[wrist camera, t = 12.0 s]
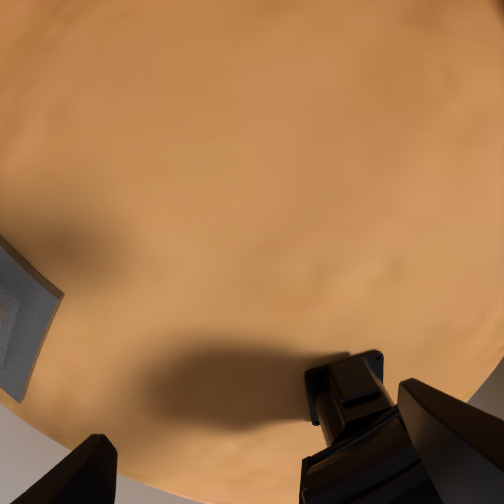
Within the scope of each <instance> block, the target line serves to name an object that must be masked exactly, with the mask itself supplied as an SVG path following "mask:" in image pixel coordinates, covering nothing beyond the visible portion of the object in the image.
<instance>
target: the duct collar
mask: <svg viewBox="0 0 504 504" xmlns="http://www.w3.org/2000/svg"><path fill="white" fill-rule="evenodd" d="M63 296H64V294H63V293H62V292H61V291H60V290H59V289H57V288H56V287H55V286H54V285H53V284H52V283H50V282H49V281H48V280H47V279H46V278H45V277H44V276H42V275H41V274H40V273H39V272H38V271H37V270H36V269H35V268H34V267H32V266H31V265H30V264H29V263H28V262H27V261H26V260H25V259H24V258H23V257H22V256H21V255H20V254H19V253H18V252H17V251H16V250H15V249H13V248H12V247H11V246H10V245H9V244H8V243H7V242H6V241H5V240H4V239H3V237H2V236H1V235H0V387H1V388H2V389H3V390H4V391H5V392H6V393H8V394H9V395H10V396H11V397H12V398H14V399H15V400H16V401H17V402H18V403H21V402H22V401H23V399H24V397H25V394H26V391H27V388H28V385H29V381H30V379H31V376H32V373H33V370H34V367H35V364H36V361H37V359H38V356H39V353H40V351H41V348H42V346H43V343H44V340H45V338H46V335H47V333H48V331H49V328H50V326H51V323H52V321H53V319H54V316H55V314H56V312H57V310H58V307H59V305H60V303H61V301H62V299H63Z"/></svg>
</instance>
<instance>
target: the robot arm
mask: <svg viewBox="0 0 504 504" xmlns="http://www.w3.org/2000/svg"><path fill="white" fill-rule="evenodd" d="M377 356H378V357H377ZM376 357H377V358H376ZM383 362H384V356H383V354H382V353H381V351H374V352H371V353H368V354H365V355H362V356H358V357H355V358H352V359H348V360H345V361H341V362H338V363H334V364H331V365H327V366H323V367H319V368H315V369H312V370H308V371H306V372H305V373H304V381H305V386H306V392H307V398H308V404H309V410H310V416H311V421H312V424H313V425H314V426H319V425H321V428H322V431H323V435H324V438H325V441H326V445H327V448H326V449H324V450H322V451H320V452H318V453H316V454H314V455H313V456H311V457H310V456H308V457H306V458H304V459H302V469H301V481H300V492H299V504H504V420H503V419H500V418H498V417H496V416H494V415H491V414H489V413H487V412H485V411H483V410H480V409H478V408H476V407H474V406H471V405H469V404H467V403H465V402H463V401H461V400H459V399H456V398H454V397H452V396H450V395H448V394H446V393H444V392H442V391H440V390H437V389H435V388H433V387H431V386H429V385H427V384H425V383H423V382H421V381H419V380H417V379H415V378H409V379H406V380H404V381H401V382H400V383H399V388H398V399H397V404H396V405H395V404H394V402H393V401H392V399H391V397H390V396H389V394H388V392H387V391H386V389H385V387H384V386H383ZM311 375H313V376H312V377H309V376H311ZM317 420H318V421H317ZM117 459H118V454H117V450H116V449H115V447H114V446H113V445H112V443H111V442H110V441H109V439H108V438H107V437H106V436H105V435H104V434H92V435H90V436H89V437H88V438H87V439H86V440H85V441H83V442H82V443H81V444H80V445H79V446H78V447H77V448H75V449H74V450H73V451H72V452H71V453H70V454H69V455H67V457H65V458H64V459H63V460H62V461H61V462H59V463H58V464H57V465H56V466H55V467H54V468H52V469H51V470H50V471H49V472H48V473H47V474H45V475H44V476H43V477H42V478H41V479H40V480H38V481H37V482H36V483H35V484H33V485H32V486H31V487H30V488H29V489H28V490H26V492H24V493H23V494H21V495H20V496H19V497H18V498H17V499H15V500H14V501H13V502H12V503H10V504H114V502H115V494H116V475H117Z"/></svg>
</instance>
